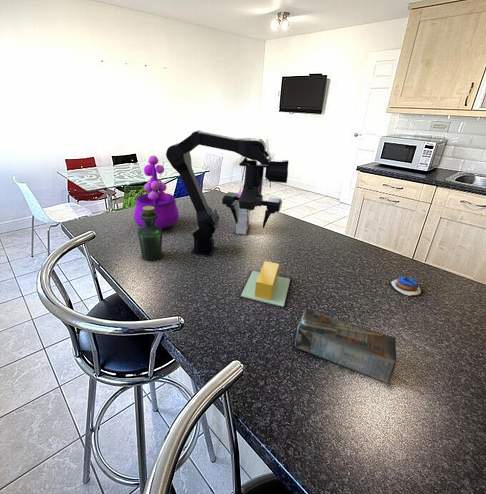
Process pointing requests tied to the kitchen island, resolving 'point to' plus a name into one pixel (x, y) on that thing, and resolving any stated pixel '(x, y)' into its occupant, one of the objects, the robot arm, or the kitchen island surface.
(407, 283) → the dessert
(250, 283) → the mat
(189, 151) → the robot arm
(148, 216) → the potion bottle
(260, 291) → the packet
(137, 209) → the decorative plant
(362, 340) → the beverage carton
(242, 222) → the candy bar box
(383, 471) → the kitchen island surface
